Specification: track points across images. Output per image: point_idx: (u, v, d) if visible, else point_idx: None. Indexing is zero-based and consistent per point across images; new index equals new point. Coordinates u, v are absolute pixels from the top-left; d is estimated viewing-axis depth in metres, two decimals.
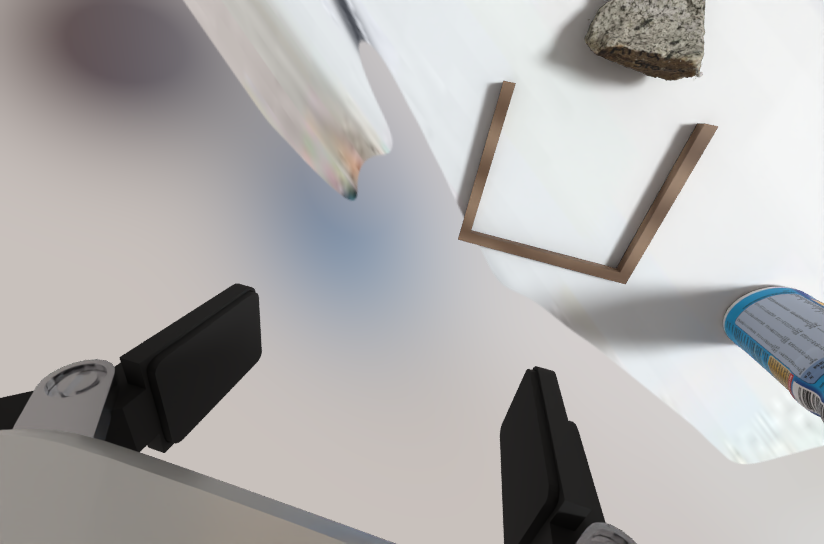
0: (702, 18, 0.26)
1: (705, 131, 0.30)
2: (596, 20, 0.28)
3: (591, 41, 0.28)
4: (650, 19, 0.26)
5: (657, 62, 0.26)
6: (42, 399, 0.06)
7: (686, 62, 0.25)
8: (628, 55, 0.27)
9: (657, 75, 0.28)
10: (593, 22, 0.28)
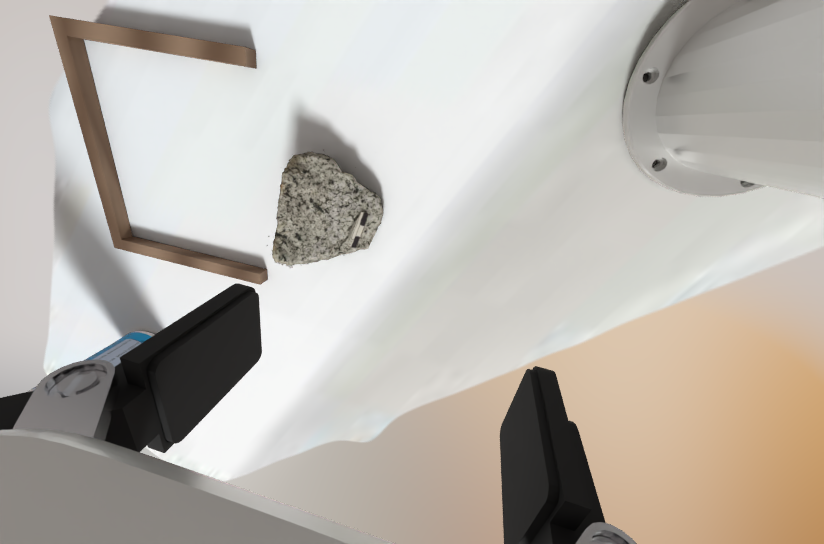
0: (331, 254, 0.28)
1: (254, 276, 0.32)
2: (318, 158, 0.25)
3: (296, 157, 0.25)
4: (322, 210, 0.26)
5: None
6: (42, 399, 0.06)
7: (273, 251, 0.25)
8: None
9: None
10: (319, 155, 0.25)
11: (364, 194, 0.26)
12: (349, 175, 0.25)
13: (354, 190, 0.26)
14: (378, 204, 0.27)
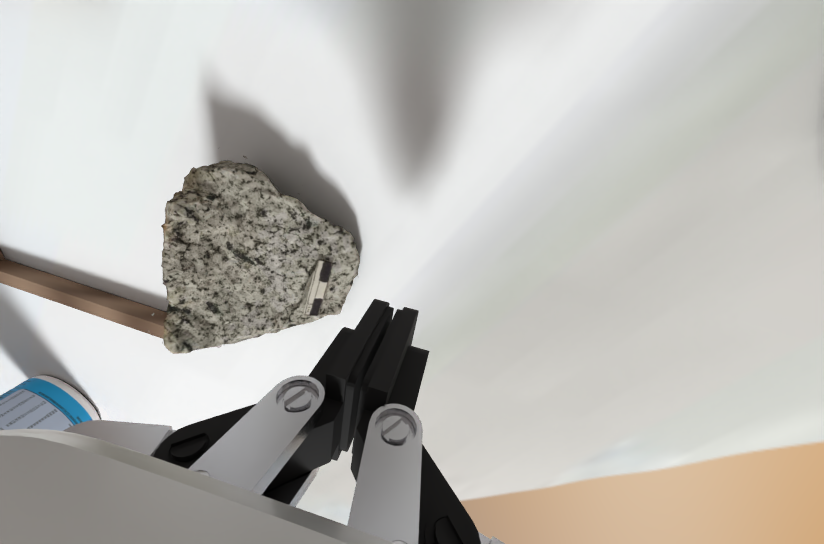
0: (277, 328, 0.17)
1: (158, 329, 0.22)
2: (234, 171, 0.14)
3: (196, 172, 0.14)
4: (252, 260, 0.15)
5: None
6: (281, 414, 0.07)
7: (166, 336, 0.15)
8: None
9: None
10: (238, 167, 0.14)
11: (322, 231, 0.15)
12: (292, 199, 0.14)
13: (304, 224, 0.15)
14: (349, 245, 0.16)
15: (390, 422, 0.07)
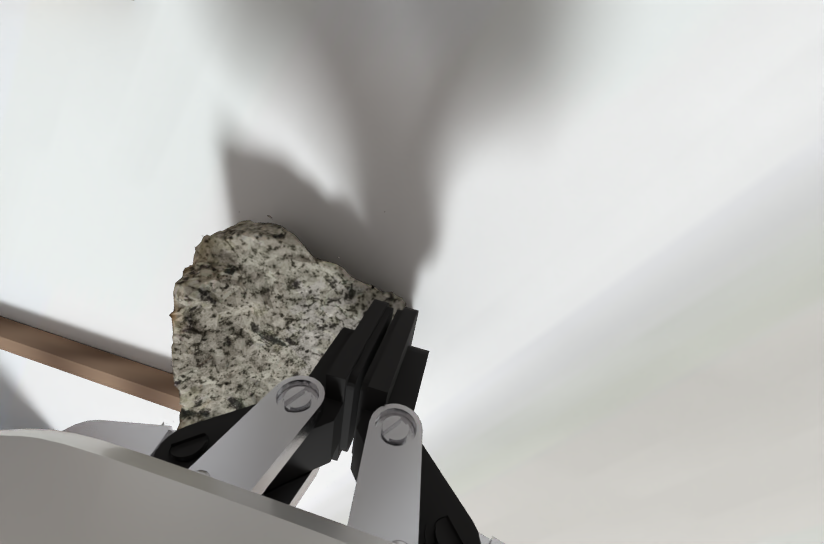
0: None
1: (174, 401, 0.18)
2: (257, 236, 0.11)
3: (210, 240, 0.11)
4: (283, 342, 0.12)
5: None
6: (281, 414, 0.07)
7: None
8: None
9: None
10: (262, 230, 0.11)
11: (369, 300, 0.12)
12: (331, 266, 0.11)
13: (346, 294, 0.12)
14: None
15: (390, 422, 0.07)
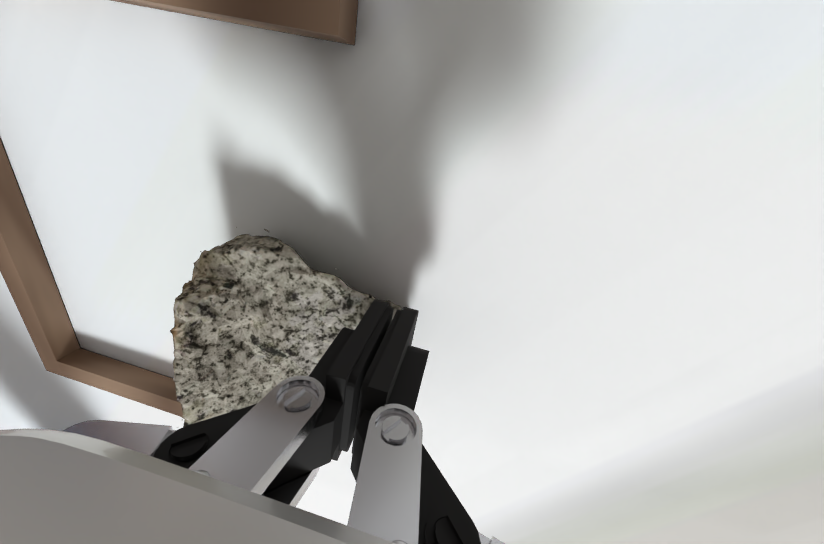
0: None
1: None
2: (255, 250, 0.11)
3: (208, 256, 0.11)
4: (283, 353, 0.12)
5: None
6: (281, 414, 0.07)
7: None
8: None
9: None
10: (259, 244, 0.11)
11: (366, 309, 0.12)
12: (328, 277, 0.11)
13: (344, 304, 0.12)
14: None
15: (390, 422, 0.07)
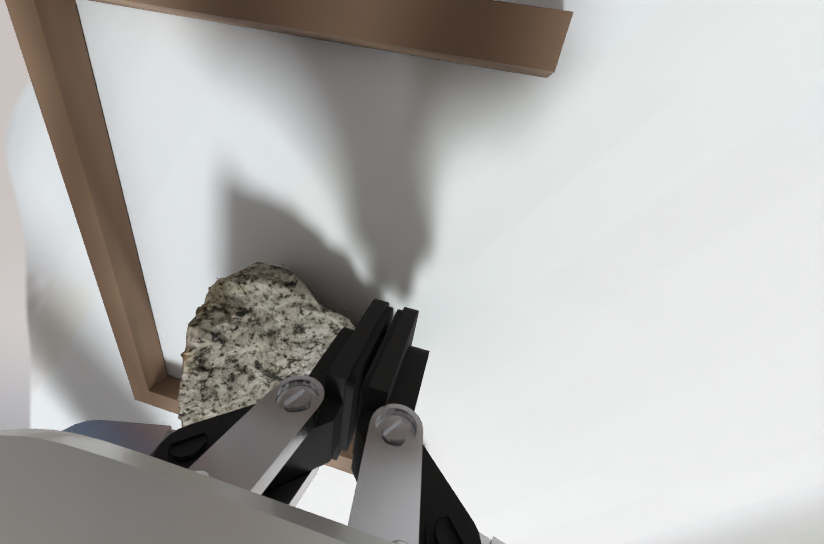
0: None
1: None
2: (270, 284, 0.12)
3: (224, 284, 0.12)
4: (283, 379, 0.13)
5: None
6: (281, 414, 0.07)
7: None
8: None
9: None
10: (274, 277, 0.12)
11: None
12: (337, 316, 0.12)
13: None
14: None
15: (391, 422, 0.07)
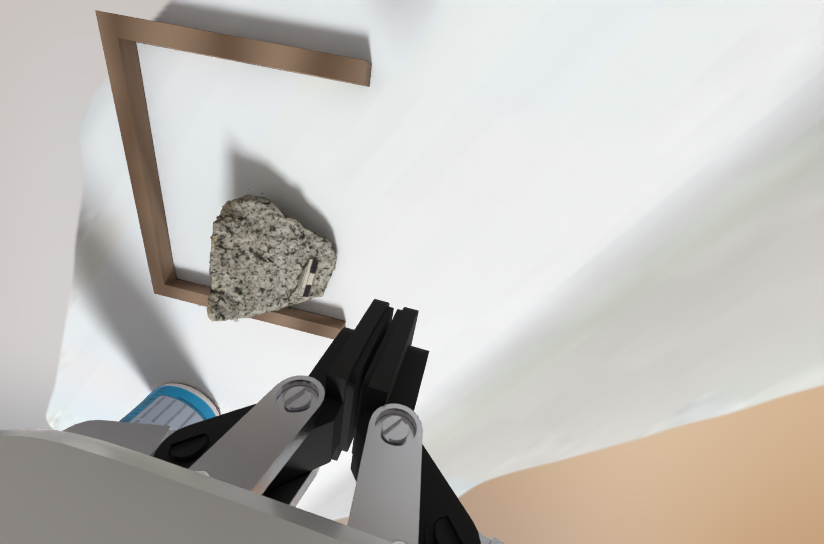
0: (280, 305, 0.25)
1: (333, 331, 0.27)
2: (255, 202, 0.22)
3: (230, 203, 0.22)
4: (265, 259, 0.23)
5: None
6: (281, 414, 0.07)
7: (208, 309, 0.22)
8: None
9: None
10: (257, 200, 0.22)
11: (312, 239, 0.23)
12: (293, 220, 0.23)
13: (300, 236, 0.23)
14: (329, 249, 0.24)
15: (390, 422, 0.07)
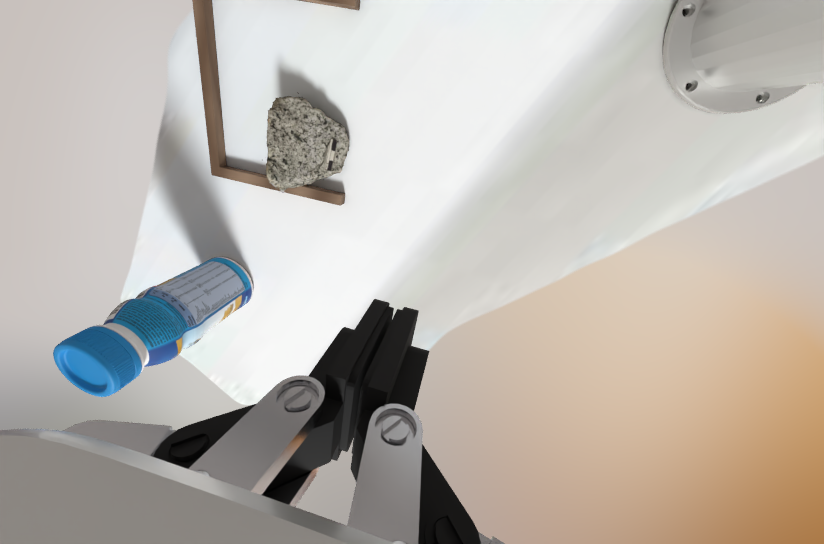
0: (312, 176, 0.36)
1: (335, 197, 0.38)
2: (294, 98, 0.33)
3: (278, 99, 0.33)
4: (301, 139, 0.34)
5: None
6: (281, 414, 0.07)
7: (266, 172, 0.34)
8: None
9: None
10: None
11: (332, 124, 0.34)
12: (318, 110, 0.34)
13: (324, 122, 0.34)
14: (344, 133, 0.35)
15: (390, 422, 0.07)
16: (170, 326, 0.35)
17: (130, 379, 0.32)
